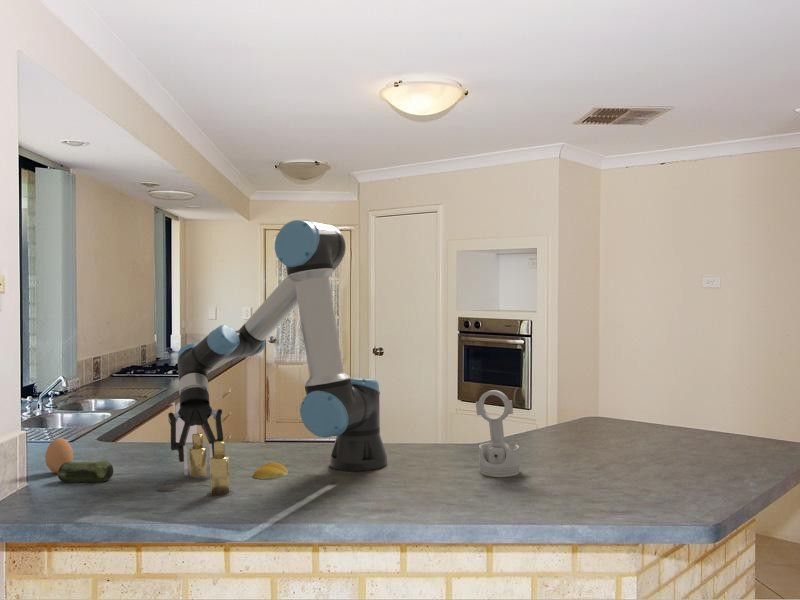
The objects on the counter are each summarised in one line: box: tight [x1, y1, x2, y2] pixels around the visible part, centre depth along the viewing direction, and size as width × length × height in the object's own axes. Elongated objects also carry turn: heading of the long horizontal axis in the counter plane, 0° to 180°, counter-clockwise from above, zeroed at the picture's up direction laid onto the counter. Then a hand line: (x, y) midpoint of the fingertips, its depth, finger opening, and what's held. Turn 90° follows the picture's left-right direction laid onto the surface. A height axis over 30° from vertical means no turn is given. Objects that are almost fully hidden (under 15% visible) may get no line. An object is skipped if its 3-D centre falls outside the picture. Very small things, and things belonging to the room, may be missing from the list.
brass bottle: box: [188, 432, 208, 478], centre depth 170 cm, size 4×4×12 cm
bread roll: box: [252, 462, 289, 480], centre depth 170 cm, size 8×9×4 cm
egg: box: [44, 437, 74, 474], centre depth 181 cm, size 7×7×9 cm
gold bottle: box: [210, 440, 231, 496], centre depth 154 cm, size 4×4×12 cm
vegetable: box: [57, 460, 114, 483], centre depth 172 cm, size 14×5×5 cm, turn 90°
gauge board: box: [155, 482, 235, 498], centre depth 156 cm, size 24×12×1 cm, turn 69°
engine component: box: [475, 389, 520, 478], centre depth 173 cm, size 11×20×10 cm
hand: (198, 470), depth 167 cm, fingers open, 5 cm apart
